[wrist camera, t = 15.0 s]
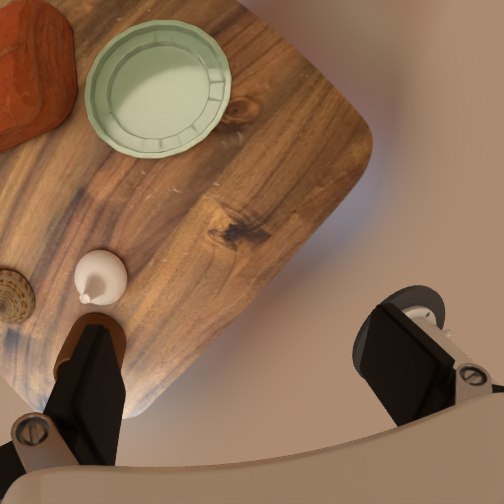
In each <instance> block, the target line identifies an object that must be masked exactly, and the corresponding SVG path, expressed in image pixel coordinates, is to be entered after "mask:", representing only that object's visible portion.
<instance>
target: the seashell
mask: <svg viewBox="0 0 504 504" xmlns="http://www.w3.org/2000/svg"><path fill="white" fill-rule="evenodd" d="M34 307H35V299H34V294H33V291H32V289H31V287H30V286H29V284H28V283H27V282H26V280H25V279H24V278H23V277H22V276H20V275H19V274H17V273H16V272H13V271H8V270H0V321H3V322H6V323H9V324H17V323H21V322H23V321H25V320H26V319H28V318H29V317H30V316H31V314H32V313H33V310H34Z"/></svg>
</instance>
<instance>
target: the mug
mask: <svg viewBox="0 0 504 504" xmlns="http://www.w3.org/2000/svg"><path fill="white" fill-rule="evenodd" d="M87 324H103V325H104V327H105V328H108V329H109V330H110V333H111V337H112V342H113V346H114V350H115V354H116V357H117V361H118V365H119V368H120V372H121V368H122V363H123V358H124V353H125V348H126V339H125V335H124V332H123V330H122V329H121V327H120V326H119V325H118V324H117V323H116V322H115V321H114V320H112V319H111V318H109V317H107V316H105V315H102V314H96V313H92V314H86V315H84V316H82V317H80V318H79V319H78V320H77V321H76V322H75V323H74V325H73V327H72V329H71V331H70V333H69V335H68V336H67V338H66V340H65V342H64V344H63V346H62V348H61V350H60V352H59V355H58V357H57V360H56V363H55V366H54V370H53V374H54V379H55V382H56V381H57V378H58V376H59V374H60V372H61V370H62V367H63V365H64V364H65V362H66V361H69V359H70V357H71V355H72V353H73V351H74V349H75V346H76V344H77V342H78V340H79V338H80V336H81V334H82V332H83V330H84V328H85V326H86V325H87Z"/></svg>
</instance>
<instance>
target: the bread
mask: <svg viewBox="0 0 504 504" xmlns="http://www.w3.org/2000/svg"><path fill="white" fill-rule="evenodd" d="M77 92H78V88H77V79H76V70H75V59H74V47H73V33H72V30H71V28H70V25H69V23H68V22H67V20H66V19H65V18H64V17H63V16H62V15H61V14H60V12H59V11H58V10H57V9H56V8H55V7H53V6H52V5H51V4H49V3H48V2H45V1H42V0H20V1H13V2H11V3H9V4H8V5H6V6H5V7H3V8H1V9H0V152H2V151H4V150H6V149H9V148H11V147H13V146H16V145H18V144H20V143H22V142H24V141H26V140H29V139H31V138H33V137H35V136H37V135H39V134H42V133H44V132H46V131H48V130H51V129H53V128H55V127H57V126H58V125H59V124H60V123H61V122H62V121H63V120H64V119H65V118H66V117H67V116H68V114H69V113H70V111H71V110H72V107H73V104H74V101H75V98H76V95H77Z"/></svg>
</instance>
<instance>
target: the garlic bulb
mask: <svg viewBox="0 0 504 504" xmlns="http://www.w3.org/2000/svg"><path fill="white" fill-rule="evenodd" d="M75 284H76V287H77V290H78V292H79V293H80V294H81V295H80V301H81V302H82V303H84V304H87V303H93V304H96V305H108V304H111V303H113V302H115V301H117V300H118V299H119V298H120V297H121V296H122V294H123V293H124V291H125V289H126V285H127V273H126V269H125V267H124V265H123V263H122V262H121V260H120V259H119V258H118V257H117V256H115V255H114V254H112V253H110V252H108V251H105V250H94V251H91V252H89V253H87V254H86V255H84V256H83V257H82V258H81V260H80V261H79V262H78V264H77V266H76V270H75Z"/></svg>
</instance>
